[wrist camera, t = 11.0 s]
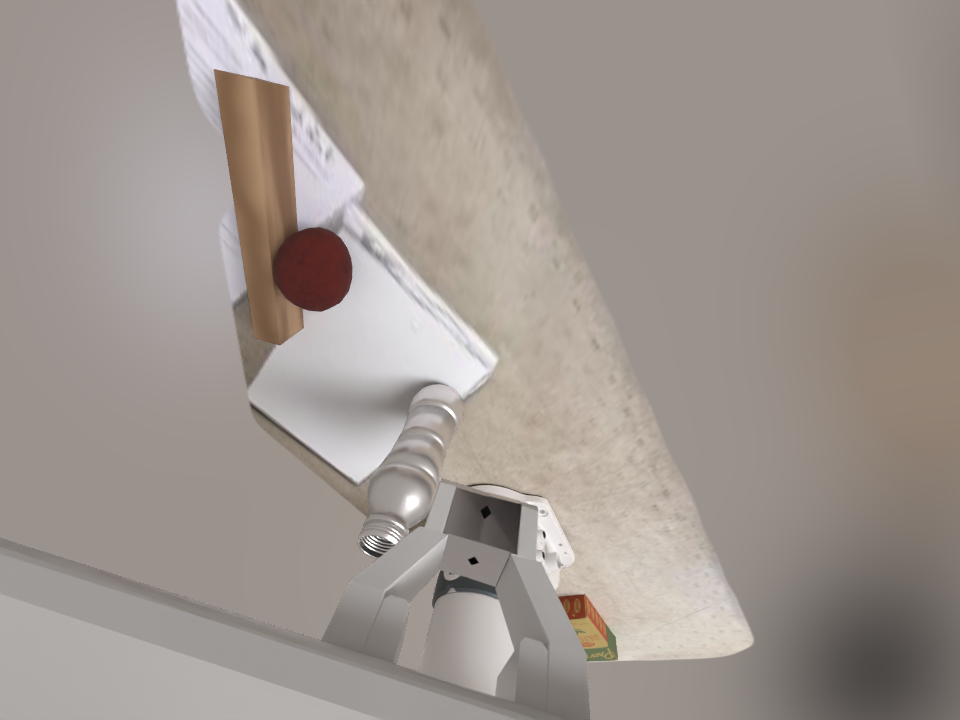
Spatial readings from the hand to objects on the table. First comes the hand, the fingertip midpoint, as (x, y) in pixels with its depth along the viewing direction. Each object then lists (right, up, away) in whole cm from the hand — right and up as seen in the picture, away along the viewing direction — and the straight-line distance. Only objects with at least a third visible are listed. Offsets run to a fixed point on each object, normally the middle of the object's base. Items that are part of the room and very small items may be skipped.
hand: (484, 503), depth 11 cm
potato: (-16, +15, +28) cm, 35 cm away
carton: (+19, -44, +57) cm, 75 cm away
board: (-21, +18, +26) cm, 38 cm away
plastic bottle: (-5, 0, +35) cm, 35 cm away
